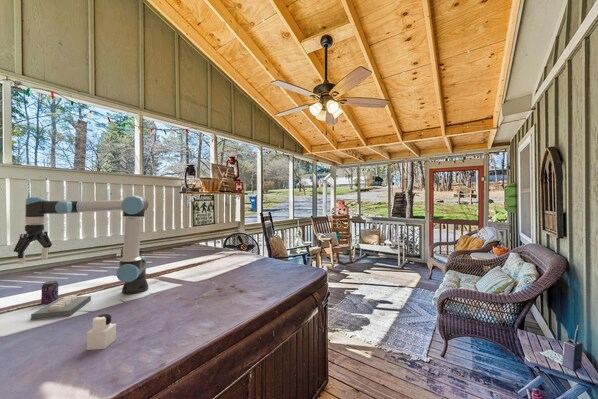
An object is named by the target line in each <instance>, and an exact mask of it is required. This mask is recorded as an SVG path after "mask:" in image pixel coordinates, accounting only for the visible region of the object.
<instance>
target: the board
mask: <svg viewBox="0 0 598 399" xmlns="http://www.w3.org/2000/svg"><path fill="white" fill-rule="evenodd" d="M63 298H64V297H62V298H60V297H58V299H57V300H55V301H53V302H52V303H50V304H45V306H43V307H41V308H39V309H38V310H36V311H35V312H33V313H31V315H30V321H36V320H44V319H54V318H55V319H56V318H64V317H70V316H72V315H74V314H75V313H76V312H77V311H79V310H80V309H81V308H83V307H84V306H86V305H87V304H89V303H90V302H91V301H92V295H84V296H77V299H76V300H74V301H71V303H70V304H68V305H65V307H63V308H62V309H60V310H52V311H49V307H50V306H51V305H53V304H55V303H57V302H58V301H60V300H62V299H63Z"/></svg>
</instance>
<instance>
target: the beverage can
mask: <svg viewBox="0 0 598 399" xmlns="http://www.w3.org/2000/svg"><path fill="white" fill-rule="evenodd" d="M40 296H41V299H40V300H41V302H40V303H41V304H43V305H48V304H50V303H52V302H53V301H55V300H57V299H59V282H58V280H50V281H46V282H43V283H42V286H41V295H40Z"/></svg>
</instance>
